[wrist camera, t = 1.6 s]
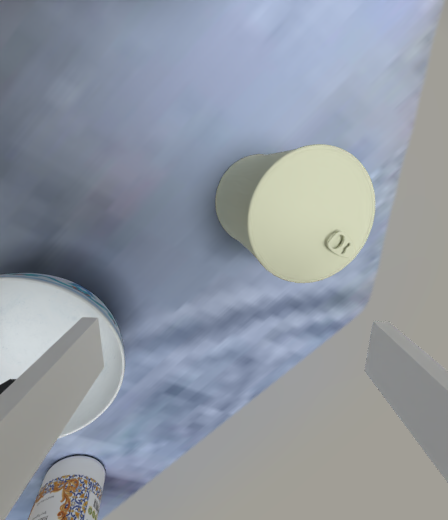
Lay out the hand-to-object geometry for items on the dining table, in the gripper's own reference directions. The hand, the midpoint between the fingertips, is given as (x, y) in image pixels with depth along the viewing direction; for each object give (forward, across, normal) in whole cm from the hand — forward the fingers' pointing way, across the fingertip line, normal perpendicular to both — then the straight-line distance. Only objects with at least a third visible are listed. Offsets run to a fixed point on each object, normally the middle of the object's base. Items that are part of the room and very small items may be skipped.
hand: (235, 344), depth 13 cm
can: (+18, +3, +6) cm, 19 cm away
